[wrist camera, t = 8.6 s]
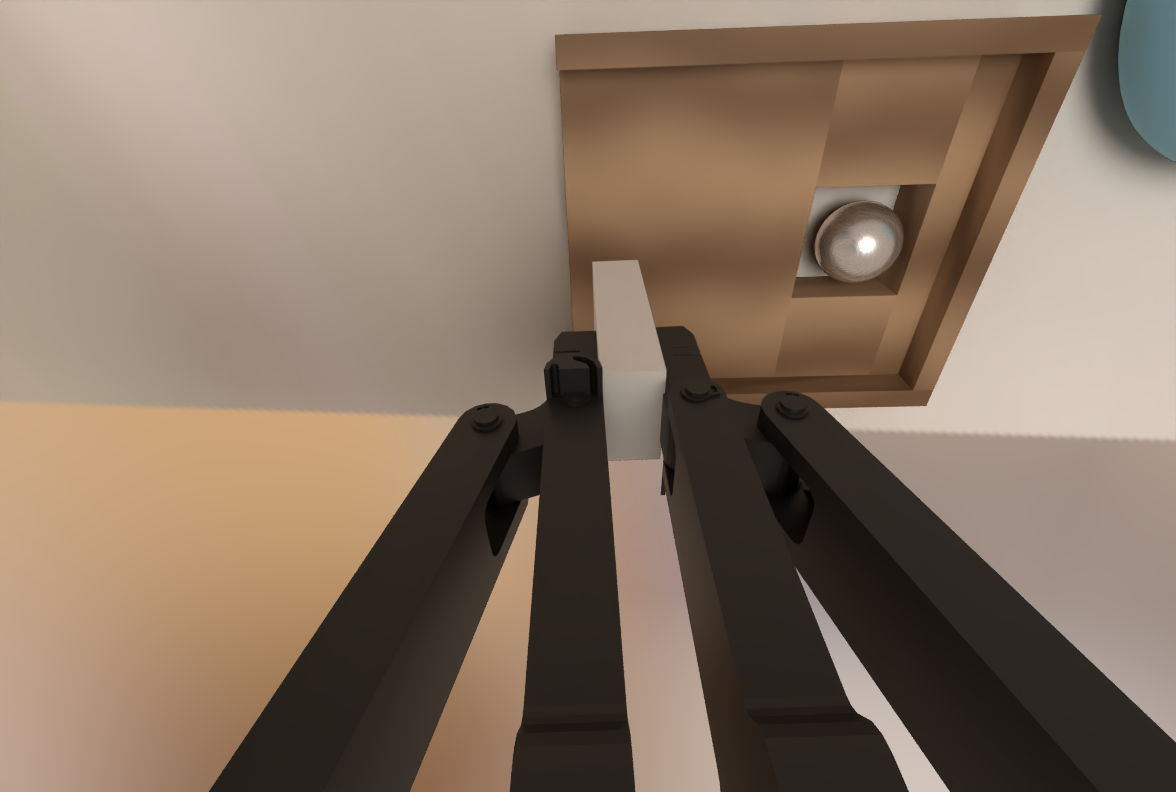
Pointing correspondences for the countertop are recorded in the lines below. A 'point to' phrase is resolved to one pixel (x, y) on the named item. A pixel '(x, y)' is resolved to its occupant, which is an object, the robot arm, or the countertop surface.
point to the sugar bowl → (1150, 71)
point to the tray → (806, 184)
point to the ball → (859, 241)
